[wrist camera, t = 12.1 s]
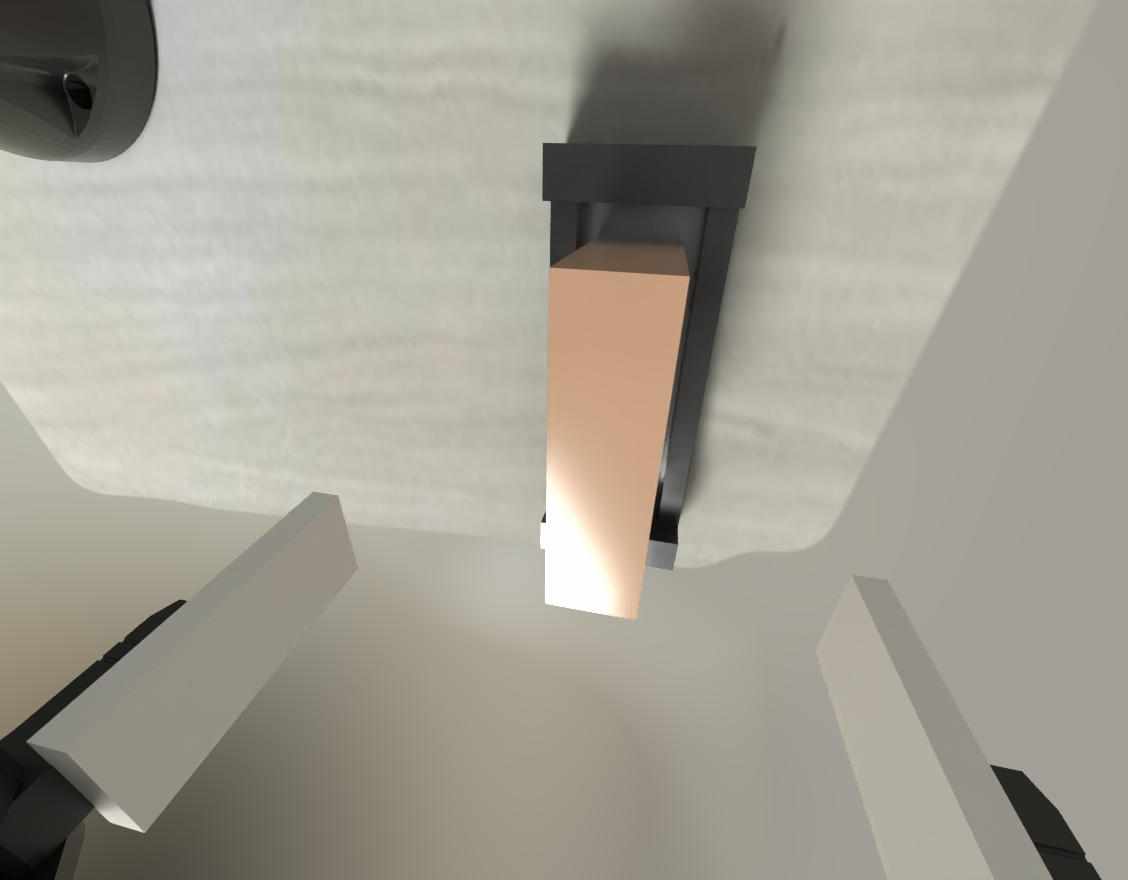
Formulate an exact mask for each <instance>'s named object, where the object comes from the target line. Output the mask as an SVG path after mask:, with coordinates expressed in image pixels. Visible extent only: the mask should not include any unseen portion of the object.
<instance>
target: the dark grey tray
mask: <svg viewBox="0 0 1128 880" xmlns="http://www.w3.org/2000/svg"><path fill="white" fill-rule="evenodd" d="M755 152H756V147H745V146H685V145H626V144H567V143H543V201H551V229H550V267H551V266H553V265H554V264H556V263H557V262H559V261H560V260H562V259H564V258H565V257H567V256H568V255H570V254H571V253H573V252H575V251H576V250H578V249H579V248H581V247H583V246H584V245H586V244H587V243H589V242H590V241H592V240H594V239H595V238H597V237H608V238H628V239H647V240H667V241H683V245H684V250H685V255H686V260H687V265H688V270H689V274H690V279H689V286H688V292H687V298H686V305H685V311H684V318H683V324H682V330H681V337H680V343H679V350H678V356H677V362H676V369H675V375H674V382H673V388H672V395H671V401H670V407H669V414H668V420H667V427H666V433H665V439H664V446H663V452H662V459H661V465H660V472H659V478H658V484H657V491H656V497H655V504H654V510H653V516H652V523H651V529H650V536H649V542H648V548H647V555H646V561H645V566H650V567H656V568H662V569H668V570H673V567H674V562H675V557H676V551H677V546H678V523H679V518H680V513H681V507H682V502H683V497H684V492H685V487H686V482H687V476H688V471H689V466H690V461H691V456H692V450H693V445H694V440H695V435H696V430H697V425H698V419H699V414H700V409H701V404H702V399H703V393H704V388H705V383H706V378H707V373H708V367H709V362H710V357H711V352H712V347H713V342H714V336H715V331H716V326H717V321H718V316H719V310H720V305H721V300H722V295H723V290H724V284H725V279H726V274H727V269H728V264H729V259H730V253H731V248H732V243H733V238H734V233H735V227H736V222H737V217H738V212H739V208H745V203H746V198H747V192H748V187H749V182H750V177H751V172H752V167H753V162H754V157H755ZM541 548H543V549H546V511H545V514H544V516H543V519H542V521H541Z"/></svg>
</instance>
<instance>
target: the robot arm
mask: <svg viewBox="0 0 1128 880" xmlns="http://www.w3.org/2000/svg"><path fill="white" fill-rule="evenodd" d="M154 83H155V52H154V41H153V34H152V27H151V21H150V16H149V11H148V7H147V3H146V0H0V150H4V151H7V152H10V153H13V154H16V155H20V156H24V157H29V158H34V159H40V160H48V161H66V162H86V163H90V162H101V161H106V160H109V159H112V158H114V157H117V156H118V155H120V154H122V153H123V152H124V151H126V150H127V149H128V148H129V147H130V146H131V145H132V144H133V143H134V142H135V140H136V139H137V138H138V137H139V135H140V133H141V131H142V130H143V128H144V125H145V123H146V121H147V118H148V115H149V112H150V108H151V104H152V99H153V93H154ZM357 569H358V567H357V564H356V560H355V556H354V552H353V549H352V545H351V541H350V538H349V535H348V530H347V527H346V523H345V519H344V516H343V512H342V508H341V505H340V501H339V497H338V496H337V495H330V494H324V493H317V492H312V493H311V494H310V495H309V496H308V497H307V498H306V499H304V500H303V501H302V502H301V503H300V504H299V505H298V506H296V507H295V508H294V509H293V510H292V511H291V512H289V513H288V514H287V515H286V516H285V517H284V518H283V519H282V520H280V521H279V522H278V523H277V524H276V525H275V526H273V528H271V529H270V530H269V531H268V532H267V533H265V534H264V535H263V536H262V537H261V538H260V539H259V540H257V541H256V542H255V543H254V544H253V545H252V546H250V547H249V548H248V549H247V550H246V551H245V552H244V553H242V554H241V555H240V556H239V557H238V558H237V559H236V560H234V561H233V562H232V563H231V564H230V565H229V566H227V567H226V568H225V569H224V570H223V571H222V572H221V573H219V574H218V575H217V576H216V577H215V578H214V579H213V580H211V581H210V582H209V583H208V584H207V585H206V586H204V587H203V588H202V589H201V590H200V591H199V592H198V593H196V595H194V596H193V597H192V598H191V599H190V600H188V601H185V600H178V601H176V602H174V603H173V604H171V605H169V606H167V607H166V608H164V609H162V610H160V611H159V612H157V613H155V614H153V615H152V616H150V617H149V618H147V619H146V620H145V621H144V622H143V623H141V624H140V625H139V626H138V627H137V628H135V629H134V630H133V631H132V632H131V633H130V634H128V635H127V636H126V637H125V639H124V641H123V642H119V643H118V644H116V645H115V646H114V647H113V648H112V649H110V650H109V651H108V652H107V653H106V654H105V655H103V658H102V660H100V661H98V660H97V661H96V662H95V663H94V664H93V665H91V666H90V667H89V668H88V669H87V670H86V671H84V672H83V673H82V674H81V675H79V676H78V677H77V678H76V679H75V680H73V681H72V682H71V683H70V684H69V685H67V686H66V687H65V688H64V689H63V690H61V691H60V692H59V693H58V694H57V695H56V696H54V697H53V698H52V699H51V700H49V701H48V702H47V703H46V704H45V705H44V706H42V707H41V708H40V709H39V710H37V711H36V712H35V713H34V714H33V715H31V716H30V717H29V718H28V719H27V720H25V721H24V722H23V723H22V724H21V725H20V726H18V727H17V728H16V729H15V730H13V731H12V732H11V733H9V734H8V735H7V736H5V737H4V738H3V739H2V740H0V880H72V879H73V875H74V872H75V868H76V864H77V861H78V857H79V854H80V850H81V847H82V843H83V840H84V830H85V824H84V823H83V821H82V820H83V819H84V818H85V817H86V816H87V815H88V814H89V812H91V810H92V809H93V808H94V807H95V808H96V809H97V810H98V811H99V812H100V813H101V814H102V815H103V816H104V817H105V818H106V819H107V820H108V821H109V822H111V823H114V824H117V825H121V826H124V827H127V828H131V829H134V830H137V831H140V832H143V833H145V832H146V831H147V830H148V828H149V827H150V826H151V825H152V823H153V822H154V821H155V820H156V818H157V817H158V816H159V815H160V813H161V812H162V811H163V810H164V809H165V807H166V806H167V805H168V803H169V802H170V801H171V800H172V799H173V797H174V796H175V795H176V794H177V792H178V791H179V790H180V789H181V787H182V786H183V785H184V784H185V782H186V781H187V780H188V779H189V777H190V776H191V775H192V774H193V772H194V771H195V770H196V769H197V768H198V766H199V765H200V764H201V763H202V761H203V760H204V759H205V758H206V756H207V755H208V754H209V753H210V751H211V750H212V749H213V748H214V746H215V745H216V744H217V743H218V741H219V740H220V739H221V738H222V737H223V735H224V734H225V733H226V732H227V730H228V729H229V728H230V727H231V725H232V724H233V723H234V722H235V720H236V719H237V718H238V717H239V715H240V714H241V713H242V712H243V710H244V709H245V708H246V707H247V705H248V704H249V703H250V702H251V700H252V699H253V698H254V697H255V695H256V694H257V693H258V692H259V691H260V689H261V688H262V687H263V685H264V684H265V683H266V682H267V681H268V679H269V678H270V677H271V676H272V674H273V673H274V672H275V671H276V669H277V668H278V667H279V666H280V664H281V663H282V662H283V661H284V659H285V658H286V657H287V656H288V654H289V653H290V652H291V651H292V649H293V648H294V647H295V646H296V644H297V643H298V642H299V641H300V640H301V638H302V637H303V636H304V635H305V633H306V632H307V631H308V630H309V628H310V627H311V626H312V624H313V623H314V622H315V621H316V620H317V618H318V617H319V616H320V615H321V614H322V612H323V611H324V610H325V609H326V607H327V606H328V605H329V604H330V602H331V601H332V600H333V599H334V597H335V596H336V595H337V594H338V592H339V591H340V590H341V588H342V587H343V586H344V585H345V584H346V582H347V581H348V580H349V579H350V578H351V576H352V575H353V574H354V573H355V571H356V570H357ZM816 654H817V657H818V660H819V664H820V667H821V670H822V673H823V676H824V679H825V682H826V686H827V689H828V692H829V695H830V699H831V702H832V705H833V708H834V711H835V714H836V718H837V721H838V724H839V727H840V730H841V733H842V737H843V740H844V743H845V746H846V749H847V753H848V756H849V759H850V762H851V765H852V768H853V771H854V775H855V778H856V781H857V784H858V787H859V790H860V794H861V797H862V800H863V803H864V806H865V809H866V813H867V816H868V819H869V822H870V826H871V829H872V831H873V835H874V838H875V841H876V845H877V848H878V851H879V854H880V857H881V860H882V863H883V867H884V870H885V873H886V876H887V880H1101V878H1100V877H1099V875H1098V873H1097V872H1096V870H1095V869H1094V867H1093V865H1092V864H1091V863H1089V862H1087V860H1086V859H1085V852H1084V851H1083V849H1082V848H1081V846H1080V844H1079V843H1078V841H1077V840H1076V838H1075V836H1074V835H1073V833H1072V832H1071V830H1070V828H1069V827H1068V825H1067V823H1066V822H1065V820H1064V819H1063V817H1062V815H1061V814H1060V812H1059V811H1058V810H1057V808H1056V807H1055V806H1054V805H1053V804H1052V803H1051V802H1050V801H1049V800H1048V799H1047V798H1046V797H1045V796H1044V794H1043V793H1042V792H1041V791H1039V789H1038V788H1037V787H1036V786H1035V785H1034V784H1033V783H1032V782H1031V781H1030V780H1029V778H1027V776H1026V775H1025V774H1024V773H1023V772H1022V771H1018V770H1013V769H1008V768H1003V767H998V766H993V765H990V764H989V763H988V761H987V759H986V757H985V755H984V754H983V752H982V750H981V748H980V746H979V745H978V743H977V741H976V739H975V737H974V736H973V734H972V732H971V730H970V728H969V727H968V725H967V723H966V721H965V719H964V717H963V716H962V714H961V712H960V710H959V709H958V707H957V705H956V703H955V701H954V699H953V698H952V696H951V694H950V692H949V690H948V688H947V687H946V685H945V683H944V681H943V679H942V678H941V676H940V674H939V672H938V670H937V669H936V667H935V665H934V663H933V661H932V659H931V658H930V656H929V654H928V652H927V650H926V649H925V647H924V645H923V643H922V641H921V640H920V638H919V636H918V634H917V633H916V631H915V629H914V627H913V625H912V623H911V622H910V620H909V618H908V616H907V614H906V613H905V611H904V609H903V607H902V605H901V603H900V602H899V600H898V598H897V596H896V594H895V593H894V591H893V589H892V587H891V585H890V584H889V582H888V580H883V579H876V578H870V577H864V576H856V575H851V577H850V579H849V581H848V583H847V585H846V587H845V589H844V591H843V594H842V596H841V598H840V600H839V602H838V604H837V606H836V609H835V611H834V613H833V615H832V617H831V619H830V621H829V624H828V625H827V628H826V630H825V632H824V634H823V636H822V638H821V640H820V642H819V644H818V647H817V649H816Z"/></svg>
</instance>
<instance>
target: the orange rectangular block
mask: <svg viewBox="0 0 1128 880" xmlns="http://www.w3.org/2000/svg"><path fill="white" fill-rule="evenodd" d="M689 279H690V274H689V270H688V265H687V260H686V255H685V250H684V245H683V241H667V240H647V239H628V238H608V237H597V238H595V239H594V240H592V241H590V242H589V243H587V244H586V245H584V246H583V247H581V248H579V249H578V250H576V251H575V252H573V253H571V254H570V255H568V256H567V257H565V258H564V259H562V260H560V261H559V262H557V263H556V264H554V265H553V266H551V267H549V327H548V410H547V493H546V576H545V577H546V578H545V603H547V604H552V605H557V606H562V607H568V608H573V609H578V610H584V611H589V612H594V613H600V614H605V615H610V616H615V617H621V618H626V619H631V620H636V619H637V613H638V606H639V600H640V593H641V587H642V581H643V574H644V568H645V561H646V555H647V548H648V542H649V536H650V529H651V523H652V516H653V510H654V504H655V497H656V491H657V484H658V478H659V472H660V465H661V459H662V452H663V446H664V439H665V433H666V427H667V420H668V414H669V407H670V401H671V395H672V388H673V382H674V375H675V369H676V362H677V356H678V350H679V343H680V337H681V330H682V324H683V318H684V311H685V305H686V298H687V292H688V286H689Z"/></svg>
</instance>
